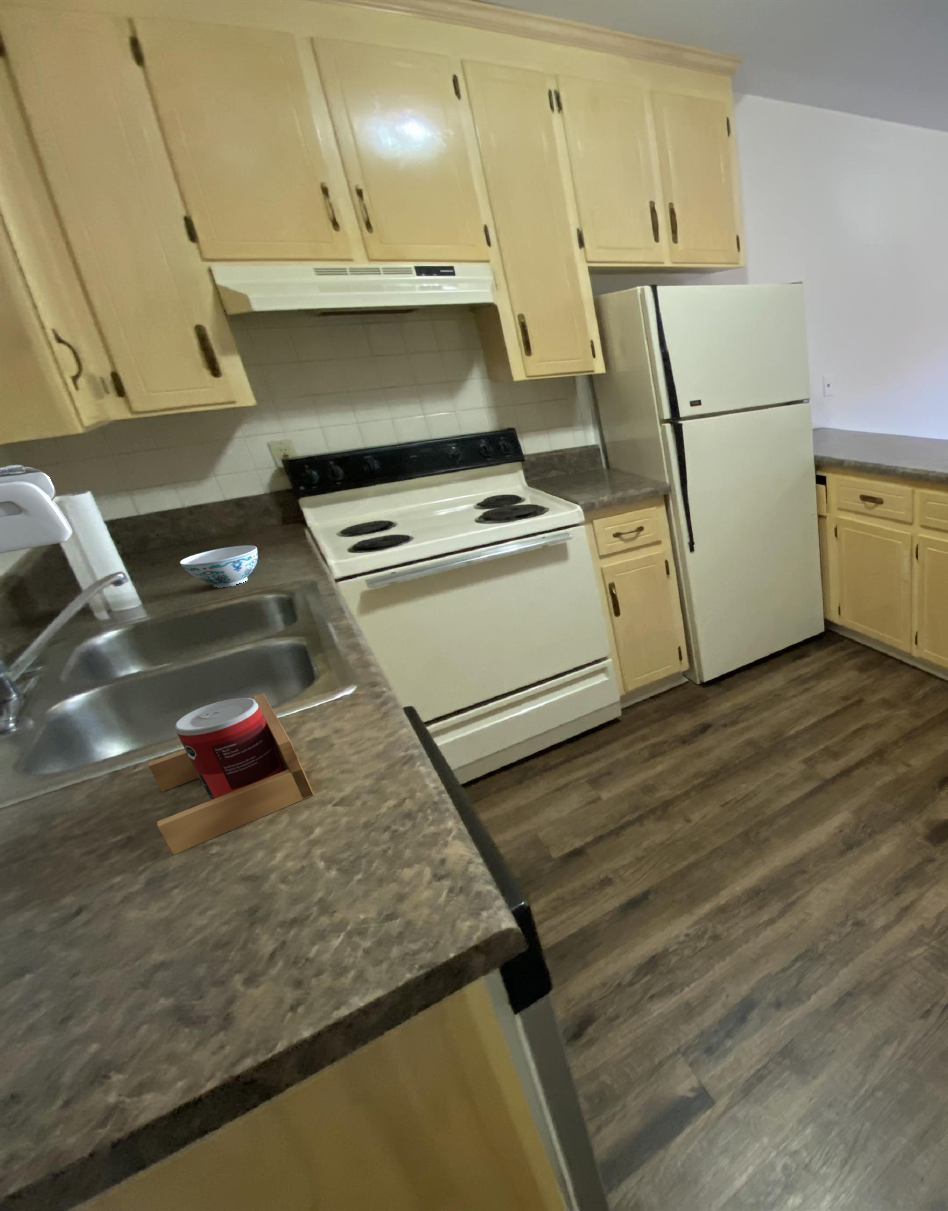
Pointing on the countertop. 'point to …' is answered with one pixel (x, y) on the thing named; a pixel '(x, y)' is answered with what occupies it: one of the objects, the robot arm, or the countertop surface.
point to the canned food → (229, 745)
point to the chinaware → (222, 565)
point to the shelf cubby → (234, 805)
